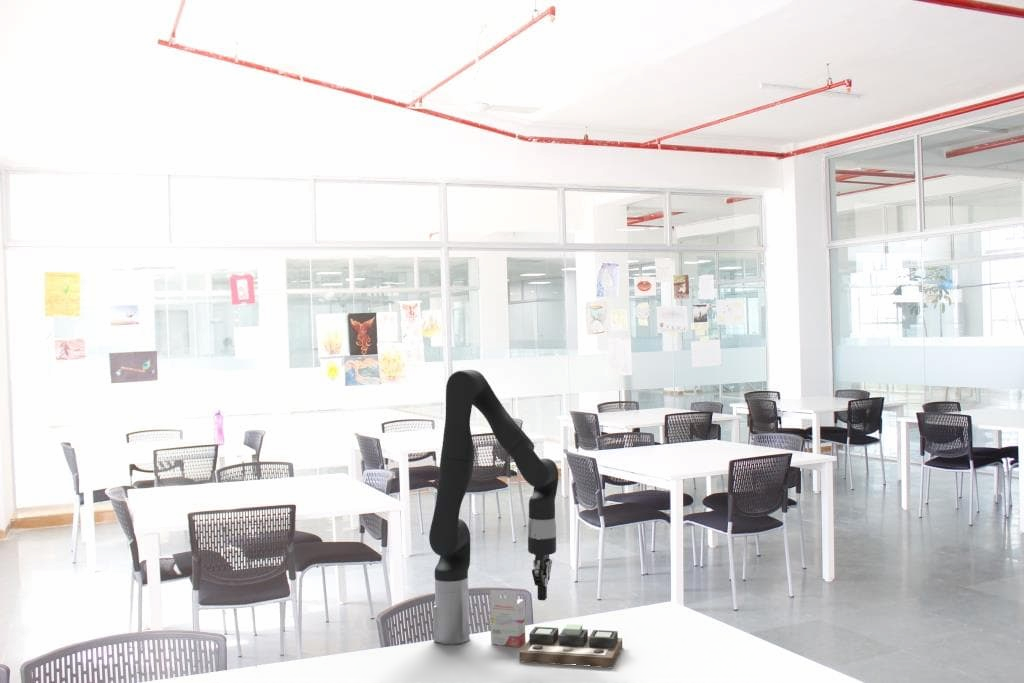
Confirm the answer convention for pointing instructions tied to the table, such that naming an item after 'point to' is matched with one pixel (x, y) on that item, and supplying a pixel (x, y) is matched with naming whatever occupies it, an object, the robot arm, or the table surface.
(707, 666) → the table surface
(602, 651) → the button panel
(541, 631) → the button
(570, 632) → the button middle
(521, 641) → the ink cartridge box
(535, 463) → the robot arm
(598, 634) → the button
